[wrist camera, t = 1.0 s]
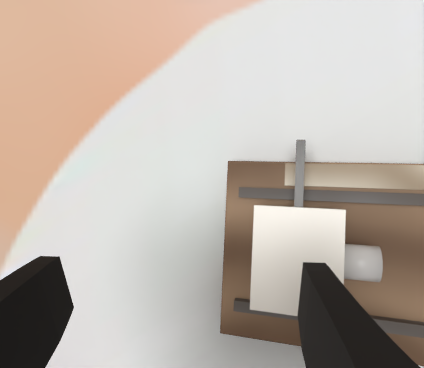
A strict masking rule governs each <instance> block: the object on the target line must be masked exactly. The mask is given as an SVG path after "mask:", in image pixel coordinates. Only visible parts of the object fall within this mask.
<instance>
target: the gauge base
mask: <svg viewBox="0 0 424 368" xmlns="http://www.w3.org/2000/svg"><path fill="white" fill-rule="evenodd" d="M295 170H296V162H254V161H228V174H227V196H226V217H225V239H224V261H223V282H222V304H221V325H220V333H222V334H229V335H235V336H241V337H247V338H253V339H259V340H266V341H272V342H278V343H284V344H290V345H296V346H301V339H300V331H299V324H298V316H293V315H286V314H278V313H271V312H264V311H257V310H250V290H251V266H252V243H253V219H254V205H269V206H288V207H294V197H295ZM303 207H308V208H328V209H343V210H346V222H345V244H354V245H367V246H379V247H380V249H381V252H382V260H383V271H382V278H381V281H380V282H370V281H361V280H351V279H344V286H345V287H346V288H347V290H348V291H349V292H350V293H351V294H352V296H353V297H354V298H355V299H356V300H357V301H358V303H359V304H360V305H361V306H362V307H363V308H364V309H365V311H366V312H367V313H368V314H369V315H370V316H371V317H372V318H373V319H374V321H375V322H376V323H377V324H378V325H379V326H380V327H381V328H382V329H383V330H384V331H385V333H386V334H387V335H388V336H389V337H390V338H391V339H392V340H393V341H394V342H395V343H396V344H397V345H398V346H399V347H400V348H401V349H402V350H403V351H404V352H405V353H406V354H407V355H408V356H409V357H410V358H411V359H412V360H413V361H414V362H415V363H416V364H417V365H420V366H424V164H389V163H321V162H305V167H304V195H303Z"/></svg>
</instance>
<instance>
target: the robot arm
mask: <svg viewBox="0 0 424 368" xmlns="http://www.w3.org/2000/svg"><path fill="white" fill-rule="evenodd" d="M73 308H74V306H73V303H72V299H71V296H70V292H69V289H68V285H67V282H66V278H65V275H64V271H63V268H62V264H61V261H60V257H50V256H40V257H38V258H36V259H34V260H32V261H31V262H29V263H27V264H26V265H24V266H22V267H21V268H19V269H17V270H16V271H14V272H13V273H11V274H10V275H8V276H6V277H5V278H3V279H2V280H0V368H45V367H46V365H47V364H48V362H49V360H50V358H51V356H52V355H53V353H54V351H55V349H56V347H57V346H58V344H59V342H60V340H61V338H62V335H63V333H64V331H65V328H66V326H67V324H68V321H69V319H70V316H71V314H72V311H73ZM297 316H298V324H299V331H300V339H301V346H302V352H303V356H304V361H305V365H306V368H420V367H419V366H418V365H417V364H416V363H415V362H414V361H413V360H412V359H411V358H410V357H409V356H408V355H407V354H406V353H405V352H404V351H403V350H402V349H401V348H400V347H399V346H398V345H397V344H396V343H395V342H394V341H393V340H392V339H391V338H390V337H389V336H388V335H387V334H386V333H385V331H384V330H383V329H382V328H381V327H380V326H379V325H378V324H377V323H376V322H375V321H374V319H373V318H372V317H371V316H370V315H369V314H368V313H367V312H366V311H365V309H364V308H363V307H362V306H361V305H360V304H359V303H358V301H357V300H356V299H355V298H354V297H353V296H352V294H351V293H350V292H349V291H348V290H347V288H346V287H345V286H344V285H343V284H342V282H341V281H340V280H339V279H338V277H337V276H336V275H335V274H334V272H333V271H332V270H331V269H330V267H329V266H328V265H327V264H326V263H313V262H303V267H302V277H301V286H300V296H299V306H298V315H297Z"/></svg>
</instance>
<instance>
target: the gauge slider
mask: <svg viewBox="0 0 424 368" xmlns="http://www.w3.org/2000/svg"><path fill="white" fill-rule="evenodd" d="M304 167H305V140H297V142H296V170H295V197H294V207H288V206H269V205H254V219H253V243H252V266H251V290H250V310H257V311H264V312H271V313H278V314H286V315H293V316H297V315H298V306H299V296H300V286H301V277H302V267H303V262H313V263H326V264H327V265H328V266H329V267H330V269H331V270H332V271H333V272H334V274H335V275H336V276H337V277H338V279H339V280H340V281H341V282H342V284H343V285H344V279H351V280H361V281H370V282H380V281H381V278H382V271H383V260H382V252H381V249H380V247H379V246H367V245H354V244H345V222H346V210H343V209H328V208H308V207H303V195H304Z"/></svg>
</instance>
